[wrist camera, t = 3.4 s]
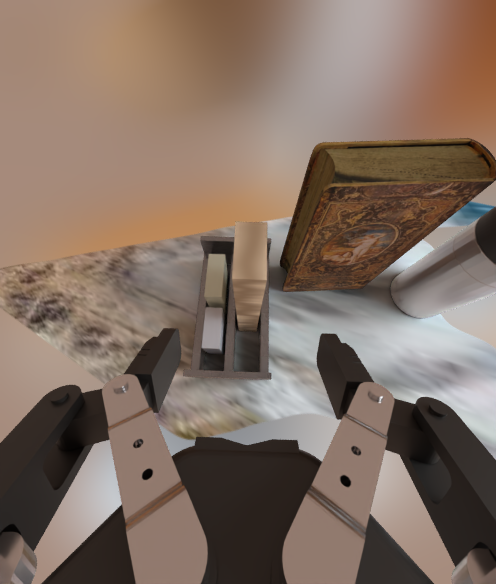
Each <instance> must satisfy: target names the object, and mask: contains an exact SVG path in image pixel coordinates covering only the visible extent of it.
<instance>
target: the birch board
mask: <svg viewBox="0 0 496 584" xmlns="http://www.w3.org/2000/svg"><path fill="white" fill-rule="evenodd" d="M232 282H233V290H234V297H235V305H236V312H237V320H238V328H239V331H250V332H256V330H257V325H258V320H259V316H260V311H261V306H262V301H263V296H264V291H265V287H266V282H267V223H263V222H236V225H235V241H234V256H233V271H232Z"/></svg>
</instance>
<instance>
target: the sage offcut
mask: <svg viewBox="0 0 496 584" xmlns="http://www.w3.org/2000/svg"><path fill="white" fill-rule="evenodd" d="M228 285H229V276H228V270H227V264H226V258H225V254H209V257H208V266H207V275H206V284H205V293H204V297H205V299H206V301H207V303H208V305H209V307H213V308H223V311H224V314H226V313H227V299H228Z"/></svg>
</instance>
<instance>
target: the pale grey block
mask: <svg viewBox="0 0 496 584" xmlns="http://www.w3.org/2000/svg"><path fill="white" fill-rule="evenodd" d="M225 327H226V318H225V315H224V311H223V308H213V307H206V309H205V319H204V329H203V338H202V349H203V350H205V351H206V352H207V353H209V354H224V342H225Z"/></svg>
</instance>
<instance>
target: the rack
mask: <svg viewBox="0 0 496 584" xmlns="http://www.w3.org/2000/svg"><path fill="white" fill-rule="evenodd" d="M200 241H201V244H202V247H203V250H204V261H203V270H202V278H201V287H200V295H199V304H198V312H197V321H196V329H195V338H194V347H193V355H192V364H191V370H184V373H183V376H187V377H202V378H230V379H258V380H269V379H271V373H268V357H269V251H270V245H271V239H268V238H267V282H266V287H265V291H264V296H263V301H262V306H261V311H260V336H259V372H236V371H233V369H234V350H235V332H236V313H237V312H236V305H235V297H234V290H233V282H232V271H233V256H234V241H235V237H209V236H201V239H200ZM209 254H225V258H226V264H229V265H231V273H230V288H229V303H228V317H227V332H226V347H225V362H224V371H208V370H204V361H205V350H203V349H202V338H203V329H204V319H205V309H206V307H209V305H208V303H207V301H206V299H205V297H204V293H205V284H206V275H207V266H208V257H209Z"/></svg>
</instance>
